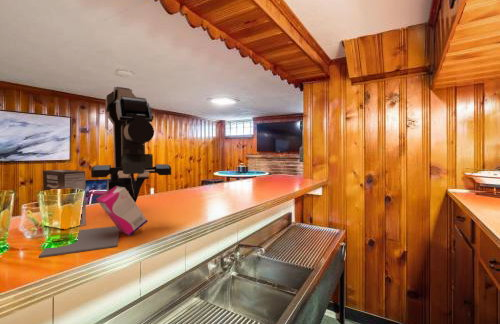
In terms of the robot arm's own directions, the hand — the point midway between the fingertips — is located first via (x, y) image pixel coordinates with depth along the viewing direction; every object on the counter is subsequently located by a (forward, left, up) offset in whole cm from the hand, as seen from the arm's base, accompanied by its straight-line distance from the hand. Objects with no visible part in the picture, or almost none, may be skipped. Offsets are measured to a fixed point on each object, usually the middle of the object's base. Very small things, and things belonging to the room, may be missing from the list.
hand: (134, 202), depth 66 cm
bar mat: (+2, -11, -8) cm, 13 cm away
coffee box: (-14, -18, -8) cm, 24 cm away
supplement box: (0, 0, -7) cm, 7 cm away
